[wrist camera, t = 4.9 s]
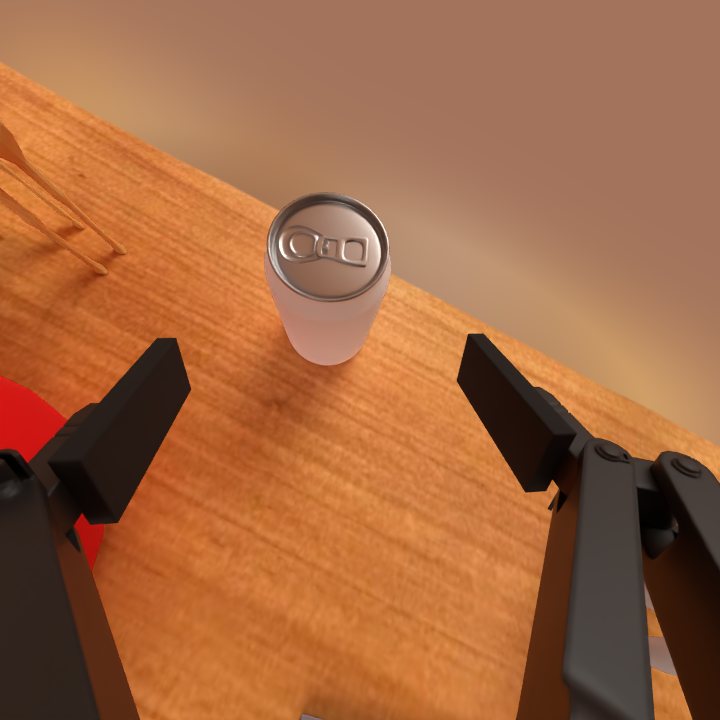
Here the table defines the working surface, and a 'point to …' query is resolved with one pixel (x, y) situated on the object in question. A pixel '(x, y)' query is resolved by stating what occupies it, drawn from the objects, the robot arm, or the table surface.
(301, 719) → the blue flat rectangular slab
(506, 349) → the table surface
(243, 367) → the table surface
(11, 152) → the giraffe
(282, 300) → the can
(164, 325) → the table surface
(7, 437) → the vase
